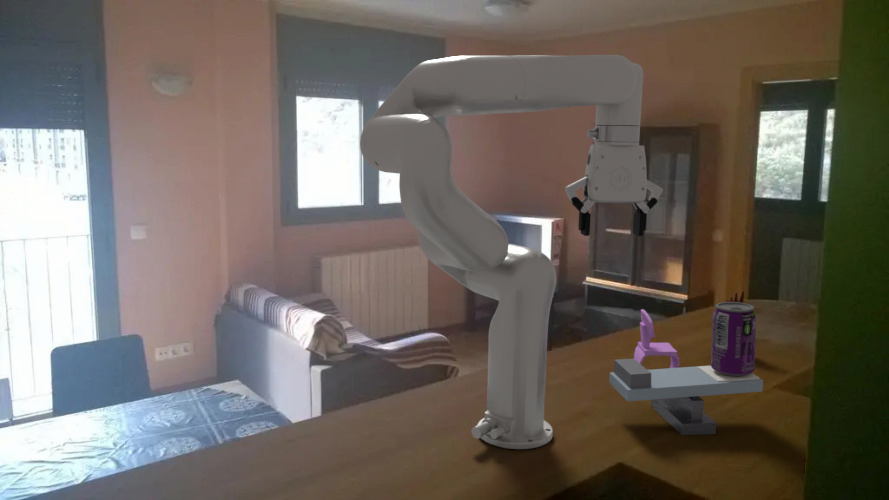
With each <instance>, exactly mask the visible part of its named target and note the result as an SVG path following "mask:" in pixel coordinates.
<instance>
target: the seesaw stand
mask: <svg viewBox="0 0 889 500" xmlns="http://www.w3.org/2000/svg"><path fill="white" fill-rule="evenodd" d="M650 402H651V403H650V407H652V409H653V410H655V412H657V414H659V416H661V417H662V418H663V419H664V420H665V422H667V423H669V425H670V426H671V427H672V428H673V429H675V430H676V431H677V433H679V434H680V436H699V435H700V436H701V435H716V434H717V433H716V432H717V422H716V421H715V420H713V419H712V418H711V417H710V416H709V415H708V414H706V413H705V412H704V405H705V400H704V399H703V398H701V396H695V397H681V398H667V399H654V400H651V401H650Z"/></svg>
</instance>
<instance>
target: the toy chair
mask: <svg viewBox="0 0 889 500" xmlns="http://www.w3.org/2000/svg"><path fill="white" fill-rule="evenodd" d="M640 318H641V321H640V322H639V328H640V332H639V333H640V341H637V346H636V347H635V350H634V354H633V358H634V359H635V360H636V361H637V362H639V363H640V364H641V365H642V363H643V362H644V360H645V358H646V357H649V356H650V357H651V356H666V357H670V366H669V368H680V358H679V356H678V351H677V350H676V349H675V348H674V346H672V345H671V343H670V342H651V339H653V338H655V337H656V335H655V330H654V323H653V320H652V318H651V317H650V314H648V312H647V311H646V310H645V309H644V308H643V309H640Z"/></svg>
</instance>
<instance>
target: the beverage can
mask: <svg viewBox="0 0 889 500" xmlns="http://www.w3.org/2000/svg"><path fill="white" fill-rule="evenodd" d="M754 310H755V306H754V305H751V304H749V303H744V302H743V303H739V301H738V302H734V301H733V302H730V301H729V302H726V301H723V302H718V303H716V304H715V310H714V311H713V313H712V322H711V323H712V324H711V325H712V327H711V328H712V329H711V357H710V358H711V360H710V362H711V363H710V365H711V367H712V368H713V369H714V370H716V371H718V372H719V373H721V374H723V375H727V376H734V377H739V376H745V375H747V374H750V373H754V372H755V364H756V344H757V343H756V341H757V340H756V338H757V315H756V314H755V311H754Z"/></svg>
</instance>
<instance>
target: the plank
mask: <svg viewBox="0 0 889 500" xmlns="http://www.w3.org/2000/svg"><path fill="white" fill-rule="evenodd" d="M613 362H614V364H613V365H614V370H613V371H611V372H609V384H610V385H611V386H612V387H613V388H614V389H615V390H616V391H617V393H618V394H620V396H621V397H622V398H624V400H626V402H637V401H638V402H639V401H650V400H654V399H667V398H681V397H695V396H699V397H705V396H706V397H707V396H718V395H719V396H721V395H732V394H734V395H735V394H745V393H757V392H758V393H760V392H762V393H763V390H764V380H763V379H762V378H760V377H759V376H758V375H757V374H754V372H752V373H750V374H747V375H745V376H739V377H734V376H727V375H723V374H721V373H719V372H718V371H716V370H714V369H713V368H712V367H711V364H710V365H700V366H683V367H682V366H681V367H679V368H670V367H668V368H666V367H665V368H656V369H655V368H654V369H647V368H646V367H645V366H644V365H643V364H642V363H641V364H640V363H639V362H637V361H636V360H635V359H634V357H633V358H622V359H621V358H620V359H614V360H613Z"/></svg>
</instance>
